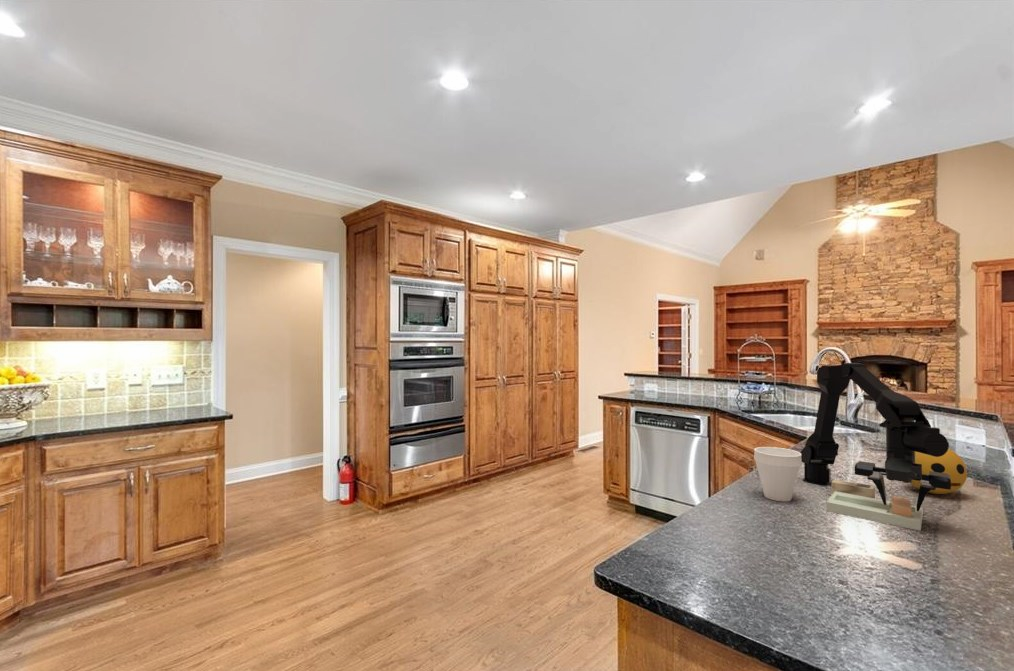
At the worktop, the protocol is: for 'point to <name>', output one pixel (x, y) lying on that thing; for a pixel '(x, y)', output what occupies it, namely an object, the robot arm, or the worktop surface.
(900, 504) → the orange rectangular block
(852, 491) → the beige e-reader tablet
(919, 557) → the worktop surface
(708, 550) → the worktop surface
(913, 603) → the worktop surface
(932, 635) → the worktop surface
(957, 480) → the toy
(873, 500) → the jig
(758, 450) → the cup
